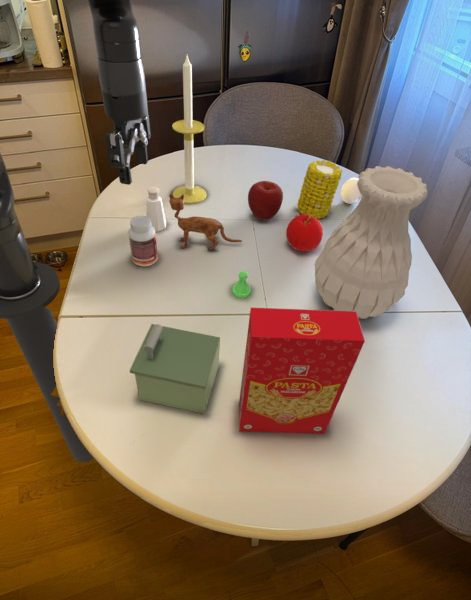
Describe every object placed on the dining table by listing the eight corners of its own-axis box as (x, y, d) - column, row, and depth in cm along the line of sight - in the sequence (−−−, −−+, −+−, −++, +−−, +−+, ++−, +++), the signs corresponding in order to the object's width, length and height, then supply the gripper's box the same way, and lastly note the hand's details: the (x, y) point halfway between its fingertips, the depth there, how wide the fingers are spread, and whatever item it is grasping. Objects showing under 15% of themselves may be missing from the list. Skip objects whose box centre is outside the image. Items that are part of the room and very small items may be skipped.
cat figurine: (241, 237, 110) (245, 191, 101) (242, 253, 106) (246, 206, 96) (172, 235, 109) (170, 188, 100) (170, 251, 105) (167, 203, 95)
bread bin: (139, 399, 74) (134, 374, 69) (159, 353, 82) (156, 327, 76) (204, 414, 73) (205, 389, 68) (218, 366, 80) (220, 340, 75)
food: (290, 211, 124) (320, 207, 127) (310, 224, 115) (341, 221, 118) (295, 158, 116) (327, 156, 119) (317, 168, 107) (350, 166, 110)
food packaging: (239, 431, 71) (251, 336, 53) (238, 404, 75) (250, 307, 57) (324, 433, 72) (364, 340, 54) (320, 406, 75) (356, 311, 58)
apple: (284, 224, 116) (289, 192, 109) (251, 227, 114) (254, 195, 107) (273, 205, 122) (278, 174, 115) (242, 208, 120) (245, 176, 113)
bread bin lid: (130, 373, 69) (126, 356, 66) (152, 326, 76) (149, 310, 73) (205, 389, 68) (205, 373, 64) (220, 340, 75) (220, 323, 72)
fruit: (281, 252, 107) (286, 219, 100) (287, 233, 113) (293, 200, 106) (316, 260, 105) (325, 227, 98) (321, 240, 112) (329, 208, 105)
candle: (165, 194, 123) (156, 51, 97) (189, 182, 129) (187, 44, 103) (189, 207, 119) (186, 62, 93) (213, 194, 125) (217, 54, 98)
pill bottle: (162, 262, 101) (159, 224, 94) (139, 270, 99) (133, 232, 91) (151, 248, 105) (147, 210, 97) (128, 256, 102) (122, 218, 94)
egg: (349, 195, 129) (356, 171, 124) (363, 205, 126) (371, 181, 120) (333, 199, 127) (339, 175, 121) (347, 210, 123) (354, 186, 118)
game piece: (236, 283, 98) (237, 263, 93) (253, 288, 97) (255, 268, 92) (229, 294, 95) (230, 274, 90) (246, 300, 94) (249, 280, 90)
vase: (299, 271, 102) (325, 154, 81) (378, 270, 104) (423, 156, 83) (318, 334, 88) (356, 212, 67) (408, 331, 90) (473, 212, 69)
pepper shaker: (153, 218, 114) (150, 181, 107) (170, 224, 113) (168, 187, 105) (142, 228, 111) (137, 191, 103) (159, 234, 109) (156, 197, 102)
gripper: (119, 70, 77) (130, 154, 88) (83, 97, 67) (101, 187, 78) (158, 75, 76) (164, 159, 87) (127, 103, 66) (139, 193, 77)
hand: (134, 172), depth 83 cm, fingers open, 8 cm apart
